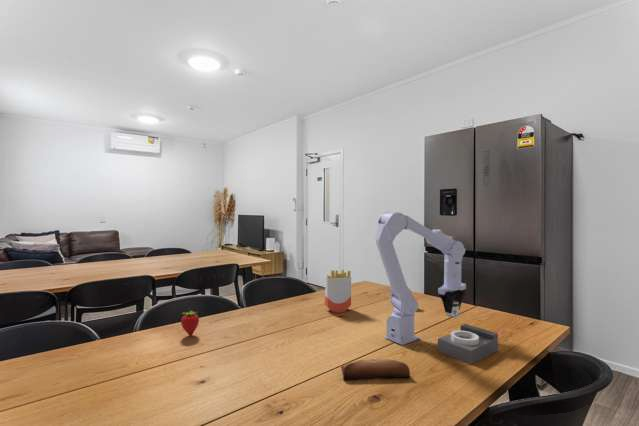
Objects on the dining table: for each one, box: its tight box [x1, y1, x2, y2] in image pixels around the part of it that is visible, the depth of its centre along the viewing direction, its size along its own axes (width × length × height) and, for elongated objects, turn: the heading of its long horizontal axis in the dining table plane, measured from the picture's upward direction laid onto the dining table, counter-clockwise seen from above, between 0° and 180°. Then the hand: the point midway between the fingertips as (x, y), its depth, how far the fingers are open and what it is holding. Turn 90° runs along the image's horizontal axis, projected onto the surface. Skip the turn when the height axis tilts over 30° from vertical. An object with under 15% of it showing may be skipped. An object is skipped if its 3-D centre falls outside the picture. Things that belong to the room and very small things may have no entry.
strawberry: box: [180, 309, 200, 337], centre depth 119 cm, size 6×8×10 cm
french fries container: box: [324, 269, 352, 313], centre depth 149 cm, size 5×11×18 cm, turn 106°
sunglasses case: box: [340, 358, 411, 381], centre depth 93 cm, size 18×7×7 cm
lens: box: [445, 300, 460, 318], centre depth 121 cm, size 4×4×5 cm
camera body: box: [437, 323, 499, 365], centre depth 107 cm, size 16×11×6 cm
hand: (452, 311), depth 121 cm, fingers closed on lens, 4 cm apart
